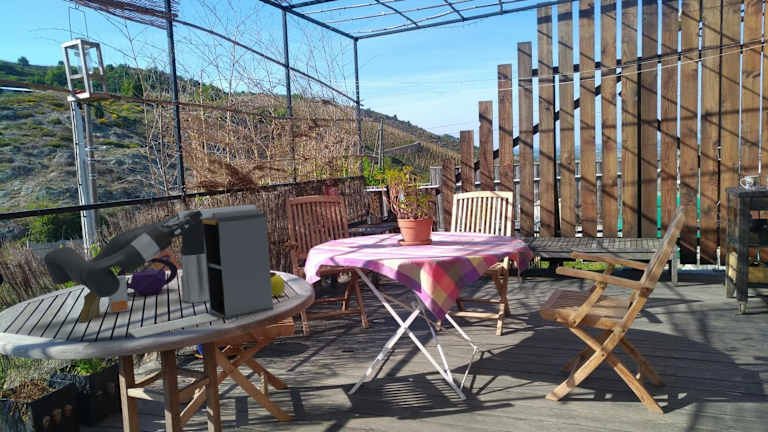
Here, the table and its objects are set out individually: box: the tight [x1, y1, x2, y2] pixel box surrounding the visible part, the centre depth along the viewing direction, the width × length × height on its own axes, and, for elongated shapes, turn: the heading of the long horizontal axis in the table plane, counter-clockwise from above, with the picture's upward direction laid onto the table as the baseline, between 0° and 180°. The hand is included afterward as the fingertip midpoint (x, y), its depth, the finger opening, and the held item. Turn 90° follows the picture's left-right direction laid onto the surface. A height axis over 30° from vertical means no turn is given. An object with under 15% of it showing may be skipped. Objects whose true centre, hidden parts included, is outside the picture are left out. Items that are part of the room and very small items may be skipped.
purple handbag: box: [116, 254, 178, 297], centre depth 213 cm, size 22×21×25 cm
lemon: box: [271, 274, 285, 298], centre depth 196 cm, size 6×6×8 cm
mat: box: [127, 312, 219, 339], centre depth 166 cm, size 24×9×1 cm, turn 129°
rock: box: [78, 290, 101, 323], centre depth 180 cm, size 10×8×10 cm
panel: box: [177, 204, 257, 220], centre depth 174 cm, size 24×4×2 cm, turn 129°
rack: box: [202, 208, 274, 320], centre depth 178 cm, size 17×14×33 cm
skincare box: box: [107, 274, 130, 314], centre depth 188 cm, size 6×4×12 cm
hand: (195, 212), depth 169 cm, fingers open, 8 cm apart
